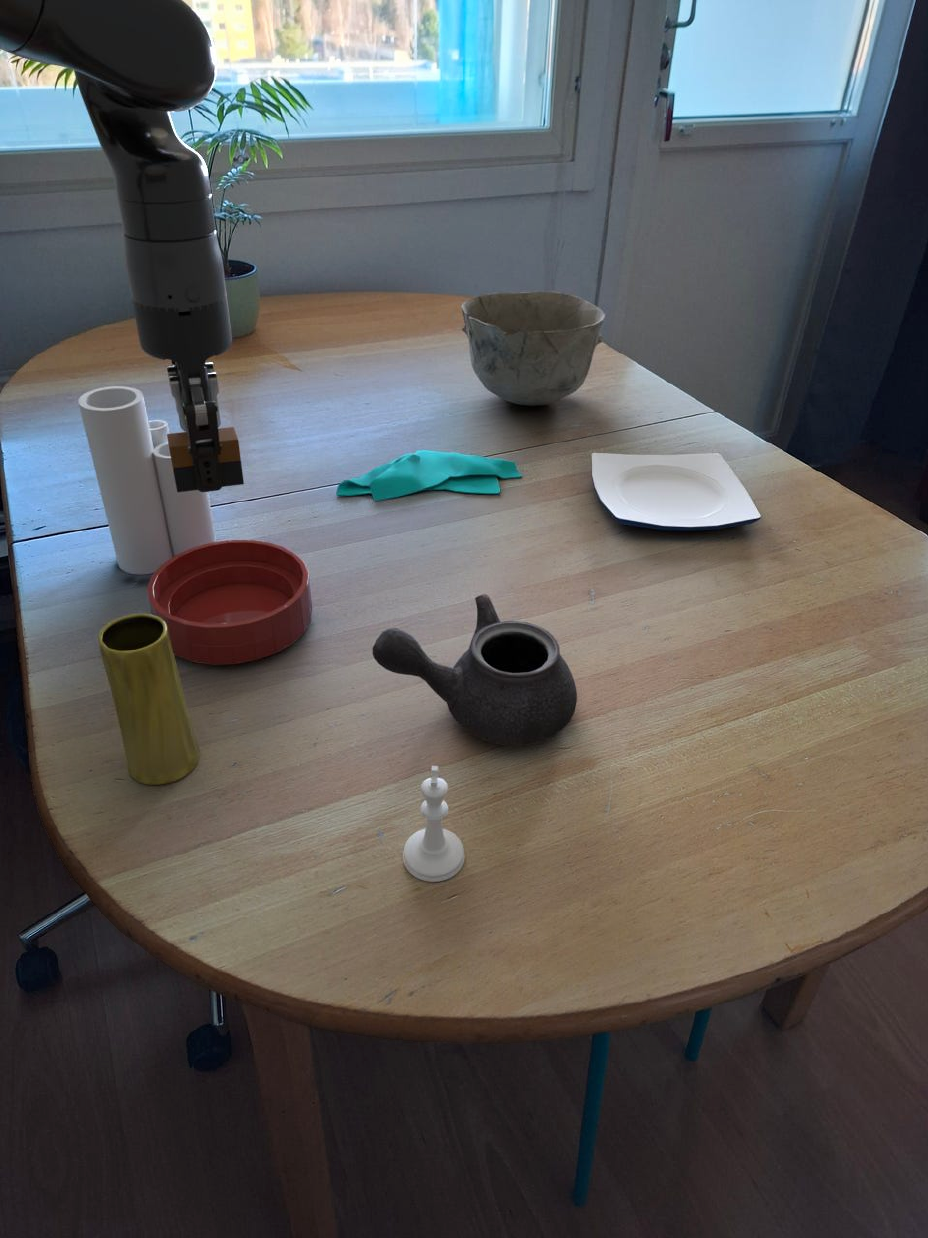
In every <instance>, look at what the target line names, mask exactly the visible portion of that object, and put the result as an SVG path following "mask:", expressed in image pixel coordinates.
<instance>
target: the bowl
mask: <svg viewBox="0 0 928 1238" xmlns="http://www.w3.org/2000/svg"><path fill="white" fill-rule="evenodd" d="M460 309H461V313H462V317H463V321H464V325H463V326H462V327H461V331H462V332H463V333H464V334H465V335H466V337H467V340H468V346H469V359H470V364H471V368H472V370H473V372H474V374H475V375H476V377H477V378H478V380H479V381H480V382H481V383H482V385H483V386H484V388H485V389H486V390H488V392H490V393H492V394H493V395H495V396H496V397H498V398H500V399H502V400H504V401H506V402H508V403H512V404H516V405H521V406H531V407H532V406H546V405H551V404H554V403H557V402H559V401H560V400H563V399H564V398H566V397H568V396H570V395H572V394H574V393H575V392H577V391H578V390H579V389H580V388H581V386H582V385H584V383H585V381H586V379H587V377H588V374H589V372H590V368H591V364H592V361H593V357H594V354H595V350H596V347H597V345H600V344H601V343H602V342H603V341H602V339H603V336H602V334H601V331H602V327H603V325H604V322H605V318H606V313H605V312H604V311H602V309H601V308H600V307H599V306H596V305H595V304H592V303H591V302H590V301H587V300H585V299H584V298H583V297H582V298H581V297H579V296H577V295H572V294H565V293H564V292H559V291H550V290H534V291H521V292H520V291H517V292H516V291H515V292H514V291H513V292H504V291H503V292H501V291H500V292H491V293H487V294H482V295H477V296H474V297H471V298H469V299H468V300H466V301H465V302H462V305H461V307H460Z"/></svg>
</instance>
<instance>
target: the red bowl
mask: <svg viewBox="0 0 928 1238" xmlns="http://www.w3.org/2000/svg"><path fill="white" fill-rule="evenodd" d="M146 589H147V599H148V604H149V608H150V612H151V615H154V616H157V617H160V618H161V619H162V620H163V621H164V622H165V623H166V625H167V628H168V632H169V637H170V641H171V646H172V650H173V654H174V656H176V657H179V658H182V659H184V660H187V661H189V662H192V663H198V664H205V665H213V666H217V665H218V666H219V665H221V666H222V665H236V664H243V663H248V662H253V661H257V660H261V659H263V658H266V657H269V656H272V655H274V654H277V653H279V652H281V651H282V650H284V649H286V648H288V647H290V646H291V645H293V644H294V643H295V642H296V641H297V640H298V639H299V638H300V637H301V636H303V635H304V633H305V631H306V630H307V628H308V627H309V624H310V623H311V621H312V614H313V603H312V592H311V582H310V573H309V570H308V567H307V564H306V562H305V561H304V560H303V559H302V558H301V556H299V555H298V554H297V553H296V552H294V551H292V550H290V549H289V548H286V547H285V546H282V545H279V544H275V543H273V542H269V541H263V540H255V539H226V540H219V541H216V542H212V543H208V544H204V545H201V546H197V547H194V548H191V549H189V550H186V551H184V552H182V553H180V554H177V555H175V556H174V557H172V558H171V559H169V560H168V561H167V562H165V563H164V564H162V565H161V566H160V567H159V568H158V569H157V571H156V572H155V573H152V575H151V577H150V579H149V581H148V585H147V587H146Z"/></svg>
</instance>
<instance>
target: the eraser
mask: <svg viewBox="0 0 928 1238" xmlns="http://www.w3.org/2000/svg"><path fill="white" fill-rule="evenodd" d="M218 432H219V442H220V445H221V448H222V451H220V452H221V455H218V459H219V466H220V473H221V480H222V488H224V487H234V486H240V485H241V486H242V485H244V484H245V481H244V474H243V466H242V465H243V464H242V458H241V450H240V441H239V438H238V435H237V432H236V429H235V427H234V426H231V427H229V426H228V427H221V428H220V427H218ZM167 438H168V444H169V449H170V455H171V461H172V466H173V472H174V478H175V483H176V488H177V492H185V491H193V490H198V488H197V483H196V477H195V471H194V465H193V458H192V456H191V454H190V453H189V451H188V446H189V441H188V435H187V432H186V431H185V432H184V431H182V432H172V433H169V434H167ZM204 440H211V439H204ZM198 441H203V440H198Z"/></svg>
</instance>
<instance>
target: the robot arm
mask: <svg viewBox="0 0 928 1238" xmlns="http://www.w3.org/2000/svg"><path fill="white" fill-rule="evenodd" d="M0 50H1V51H4V52H6V53H8V54H11V55H14V56H16V57H19V58H21V59H22V58H23V59H25V60H29V61H32V62H36V63H40V64H47V65H51V66H57V67H61V68H62V67H63V68H66V69H69V70H73V73H74V77H75V80H76V84H77V88H78V90H79V92H80V95H81V98H82V101H83V104H84V106H85V109H86V111H87V114H88V117H89V120H90V122H91V125H92V127H93V129H94V132H95V134H96V138H97V140H98V142H99V145H100V147H101V150H102V152H103V154H104V156H105V158H106V160H107V162H108V165H109V167H110V170H111V172H112V176H113V181H114V189H115V195H116V200H117V207H118V211H119V216H120V222H121V227H122V232H123V242H124V260H125V261H124V262H125V268H126V269H125V270H126V276H127V280H128V285H129V286H128V287H129V290H130V296H131V301H132V307H133V313H134V318H135V323H136V328H137V335H138V340H139V345H140V348H141V349H142V351H143V352H144V353H145V354H147V355H148V356H150V357H153V358H155V359H159V360H162V361H165V360H169V361H171V365H169V366H166V367H165V368H166V373H167V377H168V379H167V380H168V383H169V388H170V392H171V396H172V398H173V399H174V403H175V409H176V413H177V416H178V420H179V421H178V422H179V426H180V429H181V430H182V431H183V432H187V435H188V441H189V446H188V451H189V453H190V454H191V456H192V458H193V465H194V471H195V477H196V483H197V488H198V490H199V491H200V492H208V493H209V492H216V491H220V490H221V489H223V487H222V480H221V473H220V466H219V459H218V455H221V452H220V451H222V448H221V445H220V442H219V432H218V429H219V428H220V426H221V425H222V423H221V415H220V408H219V401H218V395H219V392H220V388H219V382H218V375H217V372H215V368H214V363H213V362H206V361H208V360H209V359H210V358H212V357H214V356H216V357H217V356H219V355H222V354H224V353H225V352H227V351H228V350H229V349H230V347H231V346H232V344H233V333H232V325H231V316H230V309H229V299H228V293H227V283H226V277H225V268H224V261H223V256H222V251H221V248H220V245H219V240H218V235H217V230H216V220H215V219H216V218H215V212H214V203H213V197H212V195H213V194H212V188H211V183H210V176H209V172H208V168H207V165H206V162H205V160H204V159H203V157H202V156H201V155H200V154H199V153H198V152H197V151H196V150H195V149H193V148H191V147H190V146H188V145H187V144H185V143H184V142H183V141H182V140H181V138H179V136H178V135H177V133H176V130H175V127H174V123H173V121H172V118H171V115H170V114H171V113H178V112H184V111H187V110H191V109H193V108H194V107H196V106H198V105H199V104H201V102H203V101H204V100H205V99H206V97H207V96H208V95H209V94H210V92H211V90H212V88H213V86H214V84H215V80H216V76H217V69H218V68H217V67H218V65H217V63H218V62H217V61H218V60H217V54H216V49H215V45H214V42H213V38H212V36H211V34H210V32H209V30H208V28H207V27H206V25H205V23H204V21H203V20H202V18H200V16H199V15H198V14H197V13H196V11H195V10H194V9H193V8H192V7H191V6H189V4H187V2H185V1H184V0H0ZM204 439H211V440H204ZM198 440H203V441H198Z"/></svg>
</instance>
